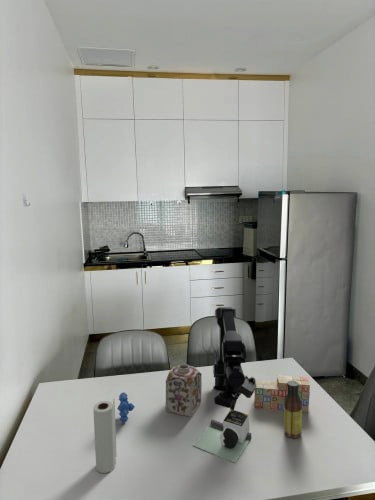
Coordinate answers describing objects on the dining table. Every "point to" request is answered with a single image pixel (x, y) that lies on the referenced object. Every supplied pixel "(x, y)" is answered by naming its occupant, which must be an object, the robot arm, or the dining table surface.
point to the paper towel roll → (105, 436)
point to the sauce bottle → (292, 411)
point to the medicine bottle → (234, 428)
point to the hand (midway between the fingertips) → (232, 410)
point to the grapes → (124, 407)
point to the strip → (220, 426)
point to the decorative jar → (183, 390)
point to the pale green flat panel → (219, 445)
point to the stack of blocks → (280, 393)
